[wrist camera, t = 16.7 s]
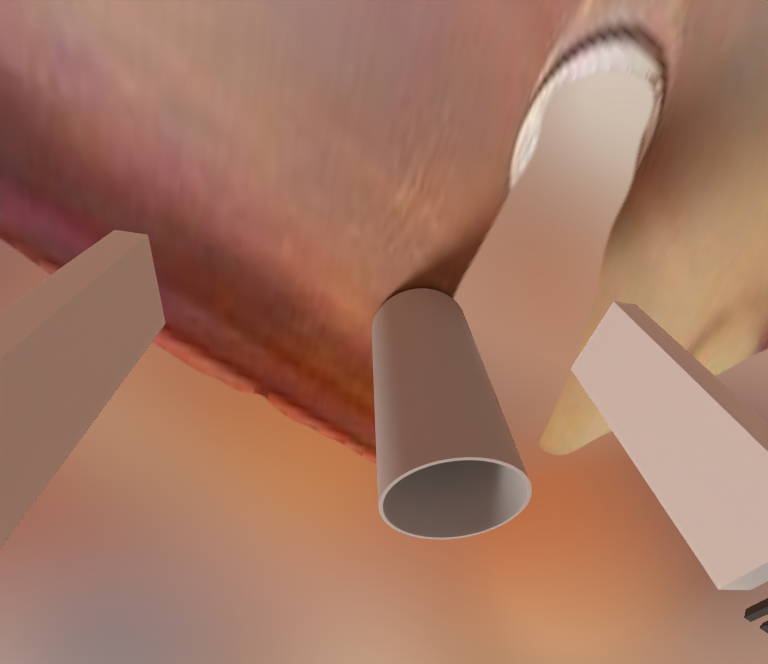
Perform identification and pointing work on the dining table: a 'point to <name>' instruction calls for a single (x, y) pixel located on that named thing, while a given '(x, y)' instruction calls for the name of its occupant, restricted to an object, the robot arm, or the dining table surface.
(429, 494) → the cylinder vase
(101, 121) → the dining table surface
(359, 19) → the dining table surface
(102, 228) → the dining table surface
